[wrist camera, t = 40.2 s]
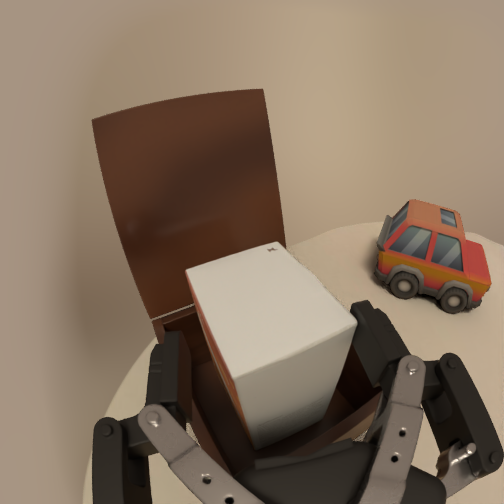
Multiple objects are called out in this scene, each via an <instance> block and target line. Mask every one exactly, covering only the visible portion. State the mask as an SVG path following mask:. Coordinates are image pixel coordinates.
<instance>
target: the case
mask: <svg viewBox="0 0 504 504" xmlns="http://www.w3.org/2000/svg"><path fill="white" fill-rule="evenodd" d="M152 324H153V327H154V330H155V334H156V337H157V340H158V343H159V344H163V343H164V334H165V332H170V331H180V330H181V331H182V333H183V335H184V338H185V340H186V343H187V345H188V348H189V350H190V354H191V379H192V419H193V422H192V423H190V425H191V427H192V429H193V431H194V433H195V436H196V438H197V440H198V442H199V444H200V446H201V448H202V449H203V450H204V451H205V452H206V453H207V454H208V455H209V456H210V457H211V458H212V459H213V460H214V461H215V462H216V463H217V464H218V465H219V466H220V467H222V468H223V469H224V470H225V471H226V472H227V473H228V474H229V475H230V476H232V477H234V476H235V475H236V474H237V473H238V472H239V471H241V470H242V469H244V468H246V467H248V466H250V465H252V464H255V462H254V460H256V459H263V458H270V457H275V456H307V455H309V454H311V453H313V452H315V451H317V450H319V449H321V448H323V447H325V446H326V445H328V444H331V443H335V442H338V441H341V440H345V439H348V438H352V441H353V440H354V439H355V438H357V437H358V436H359V435H361V434H362V433H363V432H364V431H366V430H367V429H368V428H369V427H370V425H371V423H372V420H373V417H374V414H375V411H376V408H377V404H378V401H379V398H380V394H381V391H382V388H381V386H377V387H374V388H373V387H372V384H371V382H370V380H369V378H368V376H367V374H366V371H365V369H364V367H363V365H362V363H361V361H360V358H359V356H358V354H357V352H356V350H355V348H354V346H353V344H352V342H351V345H350V348H349V351H348V354H347V357H346V360H345V363H344V366H343V369H342V372H341V374H340V377H339V380H338V382H337V385H336V388H335V391H334V393H333V396H332V398H331V401H330V403H329V406H328V408H327V410H326V413H325V415H324V417H323V419H322V420H320V421H318V422H316V423H314V424H313V425H311V426H309V427H307V428H305V429H303V430H301V431H299V432H297V433H295V434H293V435H291V436H288V437H286V438H284V439H282V440H280V441H278V442H275V443H273V444H271V445H268V446H266V447H264V448H261V449H259V450H254V448H253V446H252V444H251V442H250V440H249V438H248V436H247V434H246V432H245V430H244V428H243V426H242V424H241V422H240V420H239V418H238V416H237V414H236V412H235V410H234V408H233V406H232V404H231V402H230V400H229V398H228V395H227V393H226V391H225V389H224V387H223V385H222V383H221V382H220V380H219V377H218V374H217V372H216V369H215V366H214V363H213V360H212V357H211V353H210V351H209V348H208V345H207V342H206V339H205V336H204V333H203V330H202V326H201V323H200V320H199V317H198V314H197V310H196V307H195V305H194V306H191V307H189V308H186V309H183V310H181V311H178V312H175V313H173V314H170V315H167V316H165V317H162V318H159V319H156V320H153V321H152Z"/></svg>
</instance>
